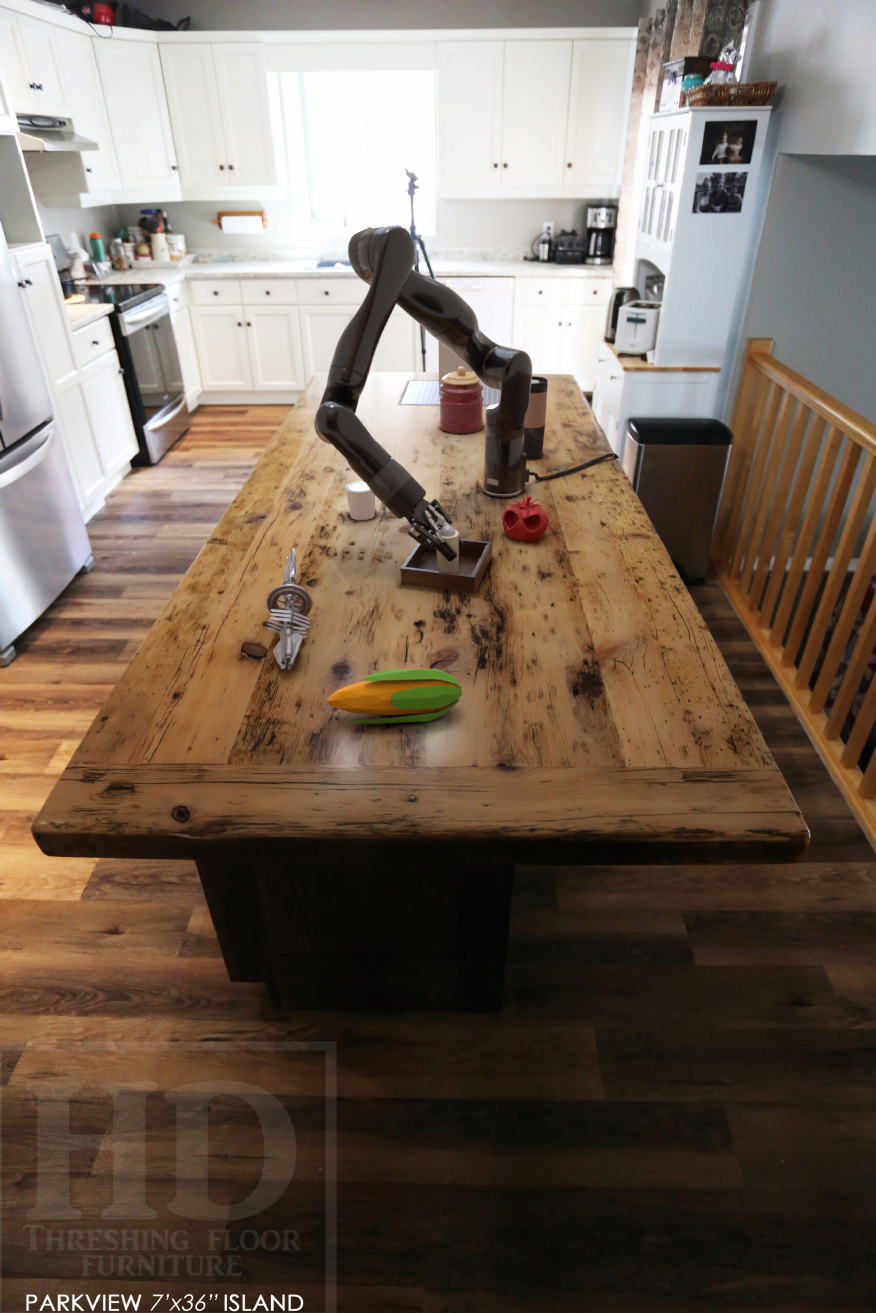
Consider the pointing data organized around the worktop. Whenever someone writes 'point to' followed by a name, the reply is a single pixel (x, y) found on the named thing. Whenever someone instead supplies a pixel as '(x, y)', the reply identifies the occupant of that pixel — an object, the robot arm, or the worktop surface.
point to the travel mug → (535, 419)
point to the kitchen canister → (461, 402)
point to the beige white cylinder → (360, 500)
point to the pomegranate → (525, 520)
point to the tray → (471, 570)
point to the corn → (400, 695)
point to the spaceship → (289, 614)
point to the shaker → (453, 540)
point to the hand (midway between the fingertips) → (457, 552)
